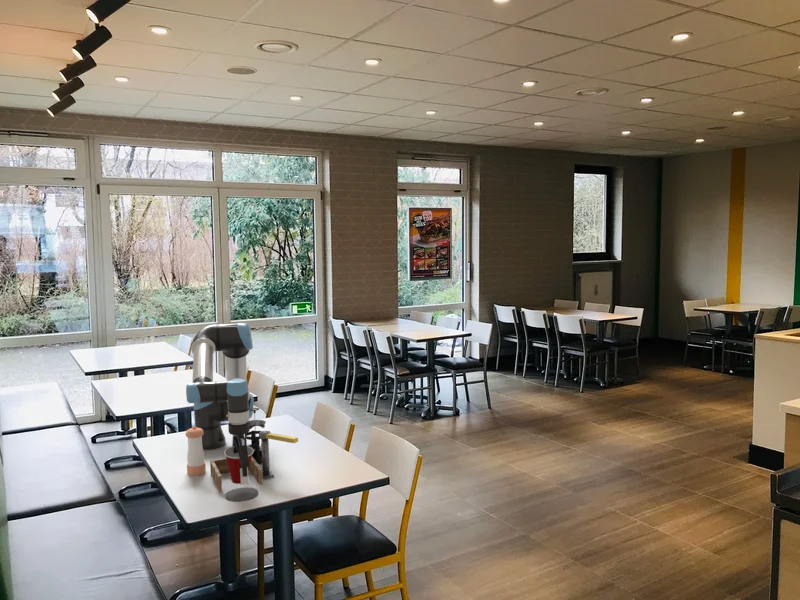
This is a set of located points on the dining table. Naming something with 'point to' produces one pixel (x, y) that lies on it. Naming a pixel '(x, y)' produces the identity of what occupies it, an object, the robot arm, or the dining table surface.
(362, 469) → the dining table surface
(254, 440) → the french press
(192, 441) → the pepper shaker
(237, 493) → the pad
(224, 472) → the walnut holder
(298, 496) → the dining table surface
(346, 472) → the dining table surface
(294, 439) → the arm
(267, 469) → the post
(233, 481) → the plastic cup
